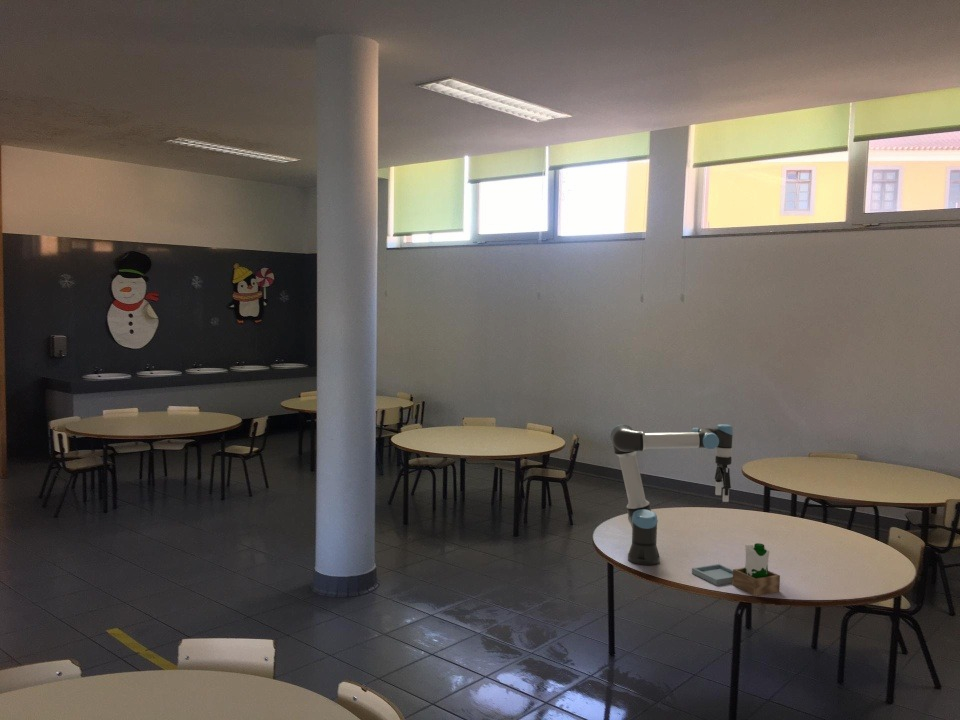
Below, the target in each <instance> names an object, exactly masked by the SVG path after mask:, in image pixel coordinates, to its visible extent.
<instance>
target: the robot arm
mask: <svg viewBox="0 0 960 720" xmlns="http://www.w3.org/2000/svg"><path fill="white" fill-rule="evenodd" d="M733 429H734V428H733V426H732V425H731V424H726V423H723V424H722V423H721V424H720V423H719V424H717V425H716V428H714V427H713V428H710V427H693V428H692V429H691V432H690V431H687V432H685V431H684V432H681V431H680V432H644V431H643V430H634V429H633V428H632V427H631V426H629V425H627V424H618V425H616V426H615V427H614V428H613V429H612V430H611V433H610V440H611V442H612V447H613V451H614V455H615V456H617V457H618V460H619V464H620V469H621V473H622V479H623V482H624V487H625V488H624V489H625V490H626V496H627V500H628V501H627V502H628V503H627V505H626V511H627V519H628V522H629V524H630V526H631V545H630V547H629V551H628V553H627V561H629V562H630V563H633V564H635V565H640V566H642V565H643V566H655V565H659V563H660V562H661V561H660V558H661V556H660V554H659V549H658V547H657V540H658V539H657V537H658V536H657V535H658V521H659V520H658V515H657V514H656V512H654V511H652V507H651V504H650V501H648V500H647V499H646V494H645V490H644V485H643V482H642V480H643V479H642V475H641V470H640V468H639V467H640V466H639V462H638V457H637V452H644V451H645V450H653V449H654V450H656V449H662V450H663V449H696V448H697V449H698V448H699V449H707V450H714V449H715V459H714V460H715V464H716V469H715V475H714V480H715V492H714V493H715V494H714V495H716V496H722V503H724V502H725V503H729V502H730V501H729V499H730V489H731V488H732V486H731V476H730V471H731V470H730V468H729V467H728V466H729V465H732V458H733V457H732V454H733V451H734V449H733V436H734V431H733ZM722 485H723V486H722Z"/></svg>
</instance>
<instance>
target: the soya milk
mask: <svg viewBox="0 0 960 720" xmlns="http://www.w3.org/2000/svg"><path fill="white" fill-rule="evenodd" d="M744 547H745V549H744V550H745V561H744V564H745V565H744V566H745V567H744V568H745V574H747V575H749V576H751V577H754V578H762V577H768V571H769V556H770V550H769V549H768V548H766V547H765V544H763V543H759V542H757V543H754V544H753V545H749V544H746V545H745V546H744Z"/></svg>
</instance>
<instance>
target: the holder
mask: <svg viewBox="0 0 960 720" xmlns="http://www.w3.org/2000/svg"><path fill="white" fill-rule="evenodd" d="M732 570H733V583H732V586H734V587H735V588H738V589H741V590H742V591H744V592H746V593H749V594H750V595H753V596H755V597H756V596H762V595H767V594H774V593H778V592H780V584H781V583H780V582H781V575H779V574H777V573H774V572H773V571H770V570H768V577H762V578H754V577H751V576H749V575H747V574H745V567H740V568H733V569H732Z"/></svg>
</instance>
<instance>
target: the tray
mask: <svg viewBox="0 0 960 720" xmlns="http://www.w3.org/2000/svg"><path fill="white" fill-rule="evenodd" d="M691 574H693V575H694V576H695V577H696V576H697V577H698V578H701V579H702V578H703V580H704V579H705V580H704V581H706V580H707V582H708V581H709V583H710V584H713V585H714V586H720V585H727V584H733V569H732V568H730V567H727V566H725V565H723V564H721V563H715V564H709V565H703V566H702V565H701V566H697V567H691Z"/></svg>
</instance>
